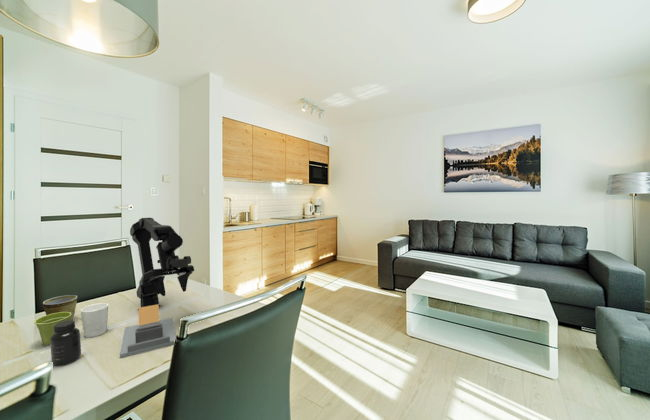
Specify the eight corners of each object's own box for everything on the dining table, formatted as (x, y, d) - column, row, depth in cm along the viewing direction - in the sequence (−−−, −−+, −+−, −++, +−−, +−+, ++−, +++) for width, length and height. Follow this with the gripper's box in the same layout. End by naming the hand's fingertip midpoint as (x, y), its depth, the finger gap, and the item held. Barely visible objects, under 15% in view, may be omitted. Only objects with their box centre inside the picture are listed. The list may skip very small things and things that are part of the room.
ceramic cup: (83, 320, 112) (82, 297, 112) (51, 331, 103) (49, 306, 103) (67, 314, 118) (66, 292, 117) (35, 324, 109) (34, 300, 108)
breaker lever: (137, 330, 95) (137, 308, 97) (160, 325, 99) (160, 304, 101) (137, 330, 94) (136, 308, 96) (160, 325, 97) (160, 303, 100)
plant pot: (39, 351, 90) (38, 326, 90) (32, 343, 95) (30, 319, 95) (76, 339, 98) (75, 315, 98) (67, 331, 103) (66, 309, 103)
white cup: (113, 329, 105) (113, 304, 105) (90, 340, 98) (89, 313, 97) (100, 326, 108) (99, 301, 107) (76, 336, 100) (75, 309, 100)
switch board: (125, 330, 105) (124, 317, 105) (172, 320, 113) (172, 308, 113) (120, 358, 87) (119, 342, 87) (176, 343, 96) (176, 329, 96)
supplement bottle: (64, 354, 89) (62, 318, 88) (86, 353, 90) (85, 318, 89) (44, 367, 82) (42, 329, 82) (68, 366, 83) (67, 328, 82)
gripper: (159, 249, 99) (168, 292, 95) (199, 248, 116) (208, 283, 113) (139, 259, 102) (146, 300, 99) (181, 256, 119) (188, 291, 116)
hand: (174, 293), depth 106 cm, fingers open, 9 cm apart
